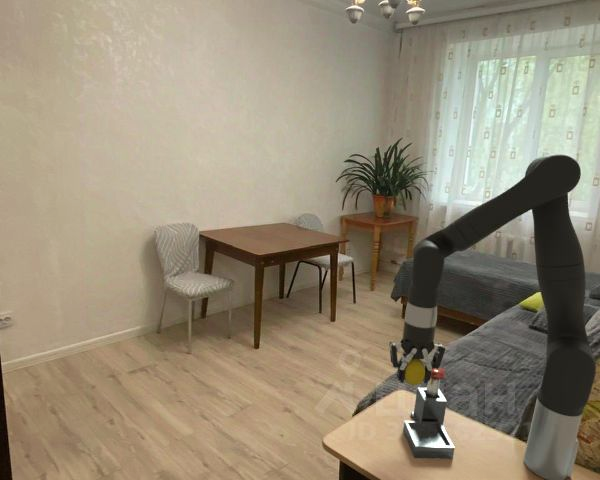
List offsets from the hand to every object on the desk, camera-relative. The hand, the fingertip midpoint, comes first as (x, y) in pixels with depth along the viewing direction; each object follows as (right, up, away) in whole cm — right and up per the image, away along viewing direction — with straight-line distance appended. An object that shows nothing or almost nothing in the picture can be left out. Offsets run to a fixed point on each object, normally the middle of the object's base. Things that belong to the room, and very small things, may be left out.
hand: (412, 381), depth 108 cm
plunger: (+6, -8, +6) cm, 12 cm away
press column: (+6, -14, +7) cm, 17 cm away
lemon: (0, -2, 0) cm, 2 cm away
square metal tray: (+3, -16, -1) cm, 16 cm away
